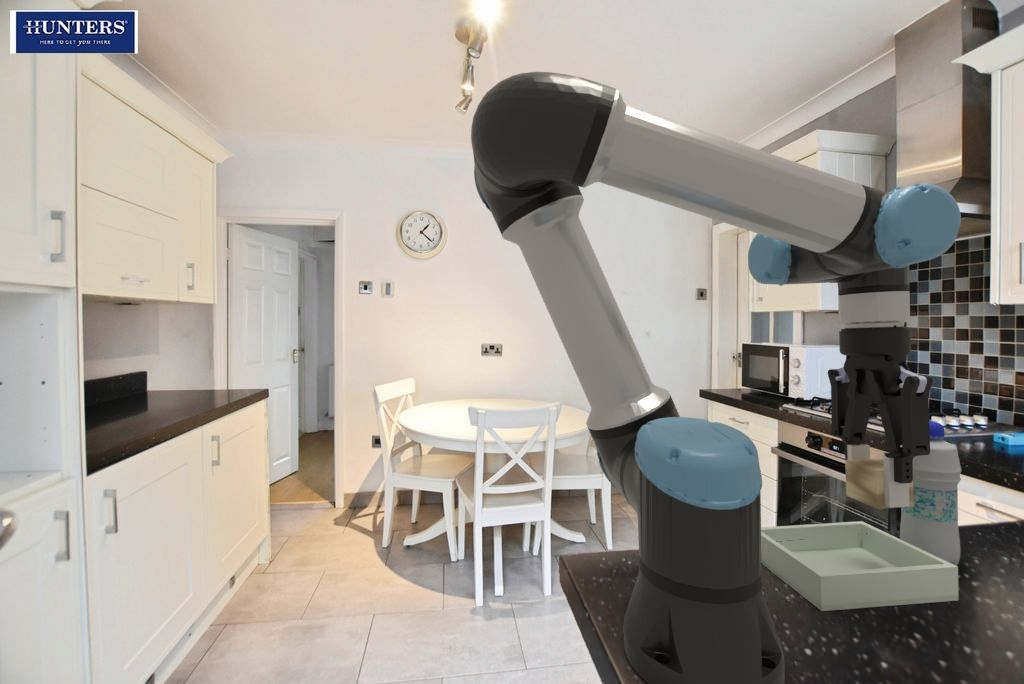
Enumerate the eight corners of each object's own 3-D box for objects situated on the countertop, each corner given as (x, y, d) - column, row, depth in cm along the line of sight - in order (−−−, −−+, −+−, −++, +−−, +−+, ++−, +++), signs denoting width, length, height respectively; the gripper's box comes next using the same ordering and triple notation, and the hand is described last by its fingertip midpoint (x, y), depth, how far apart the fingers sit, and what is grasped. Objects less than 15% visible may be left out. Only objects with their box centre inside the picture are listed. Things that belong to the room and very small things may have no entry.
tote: (821, 611, 53) (821, 576, 53) (751, 555, 67) (750, 528, 67) (958, 600, 55) (958, 566, 55) (862, 548, 68) (861, 521, 68)
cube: (913, 506, 59) (912, 468, 59) (877, 508, 58) (876, 470, 58) (879, 493, 64) (878, 457, 64) (846, 495, 63) (845, 460, 63)
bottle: (976, 576, 60) (973, 425, 59) (914, 570, 61) (912, 424, 61) (943, 552, 66) (940, 416, 66) (888, 548, 68) (886, 415, 68)
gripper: (972, 322, 52) (976, 523, 52) (844, 326, 70) (848, 476, 70) (912, 324, 51) (916, 527, 52) (799, 328, 69) (802, 478, 70)
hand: (877, 497), depth 61 cm, fingers closed on cube, 5 cm apart
